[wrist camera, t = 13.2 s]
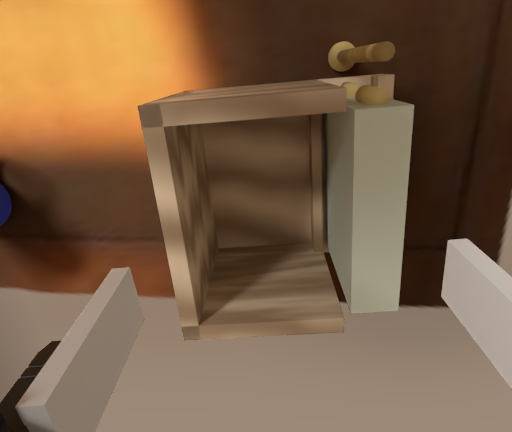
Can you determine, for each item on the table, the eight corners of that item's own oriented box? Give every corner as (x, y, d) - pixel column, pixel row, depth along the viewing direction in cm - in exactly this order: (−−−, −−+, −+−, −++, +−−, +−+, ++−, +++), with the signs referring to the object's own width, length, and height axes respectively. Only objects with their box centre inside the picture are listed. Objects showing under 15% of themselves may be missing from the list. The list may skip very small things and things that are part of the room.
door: (323, 82, 37) (355, 91, 24) (373, 78, 37) (430, 84, 24) (325, 241, 44) (350, 313, 31) (367, 238, 44) (410, 310, 31)
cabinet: (180, 57, 38) (126, 51, 23) (383, 38, 37) (462, 19, 22) (209, 254, 47) (184, 340, 32) (374, 243, 46) (426, 327, 31)
